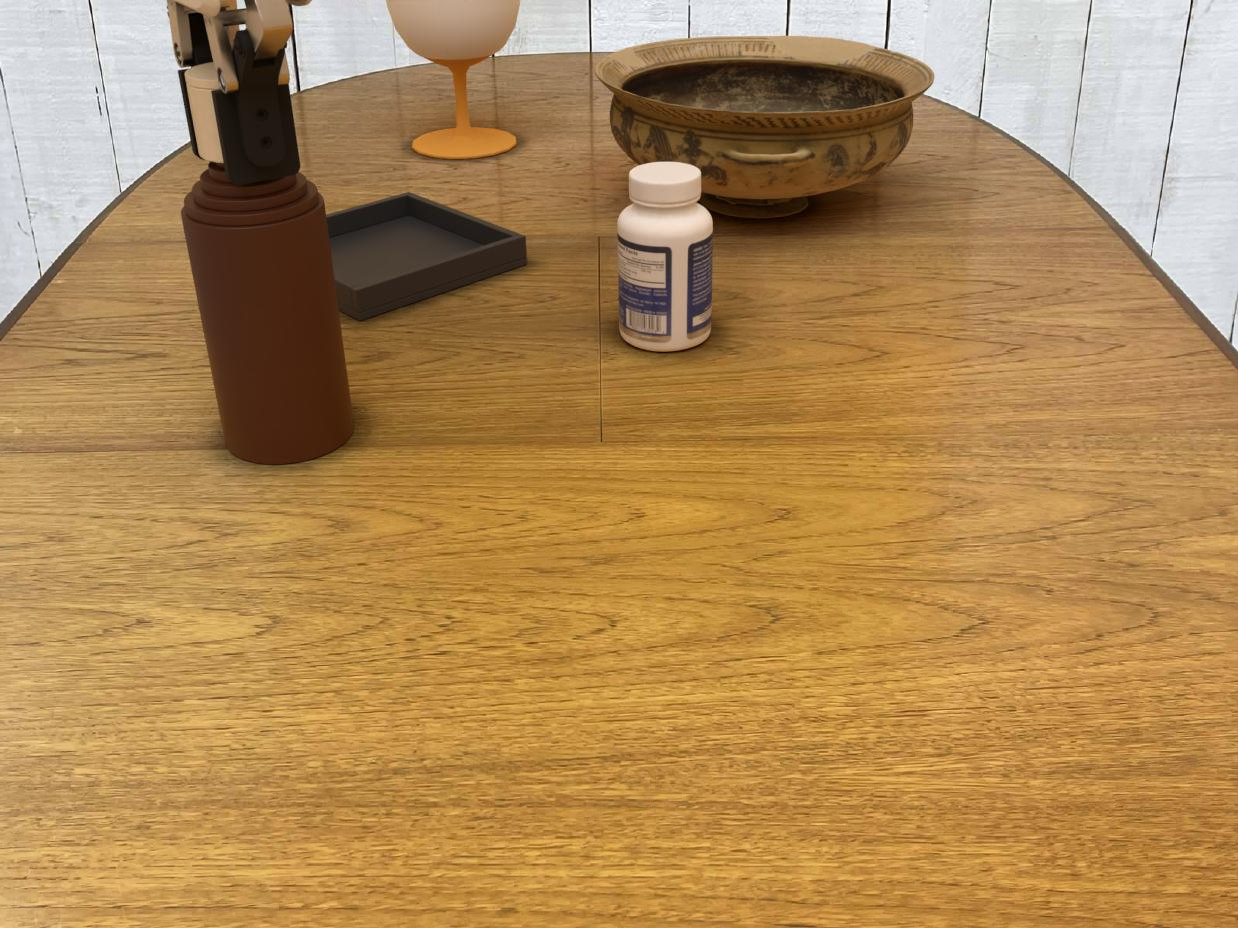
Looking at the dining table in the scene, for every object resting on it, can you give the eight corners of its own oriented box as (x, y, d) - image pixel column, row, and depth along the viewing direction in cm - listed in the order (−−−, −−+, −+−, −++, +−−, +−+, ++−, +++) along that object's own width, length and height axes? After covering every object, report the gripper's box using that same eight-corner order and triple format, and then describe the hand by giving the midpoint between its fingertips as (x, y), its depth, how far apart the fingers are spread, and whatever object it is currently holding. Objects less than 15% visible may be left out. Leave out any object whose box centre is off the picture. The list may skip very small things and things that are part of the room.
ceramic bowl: (946, 280, 80) (967, 124, 75) (575, 272, 82) (571, 120, 77) (896, 146, 106) (909, 23, 101) (615, 142, 108) (613, 22, 103)
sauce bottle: (202, 432, 64) (130, 83, 55) (311, 392, 68) (260, 59, 59) (266, 478, 60) (200, 109, 51) (378, 433, 64) (335, 82, 55)
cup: (542, 127, 113) (534, -79, 104) (519, 165, 103) (508, -58, 94) (414, 124, 114) (396, -79, 105) (379, 162, 104) (355, -59, 95)
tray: (249, 264, 84) (244, 236, 83) (411, 217, 92) (408, 191, 91) (360, 321, 76) (356, 290, 75) (527, 264, 84) (526, 235, 83)
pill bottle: (691, 311, 77) (694, 152, 72) (724, 346, 72) (730, 180, 67) (606, 323, 75) (603, 162, 70) (635, 359, 71) (634, 191, 66)
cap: (214, 169, 54) (199, 84, 52) (186, 148, 57) (171, 67, 55) (301, 153, 56) (289, 71, 54) (270, 134, 59) (258, 55, 57)
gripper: (349, -317, 43) (401, 198, 53) (197, -303, 55) (262, 114, 65) (128, -319, 40) (226, 234, 49) (17, -304, 52) (113, 138, 61)
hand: (246, 161), depth 57 cm, fingers closed on cap, 3 cm apart
